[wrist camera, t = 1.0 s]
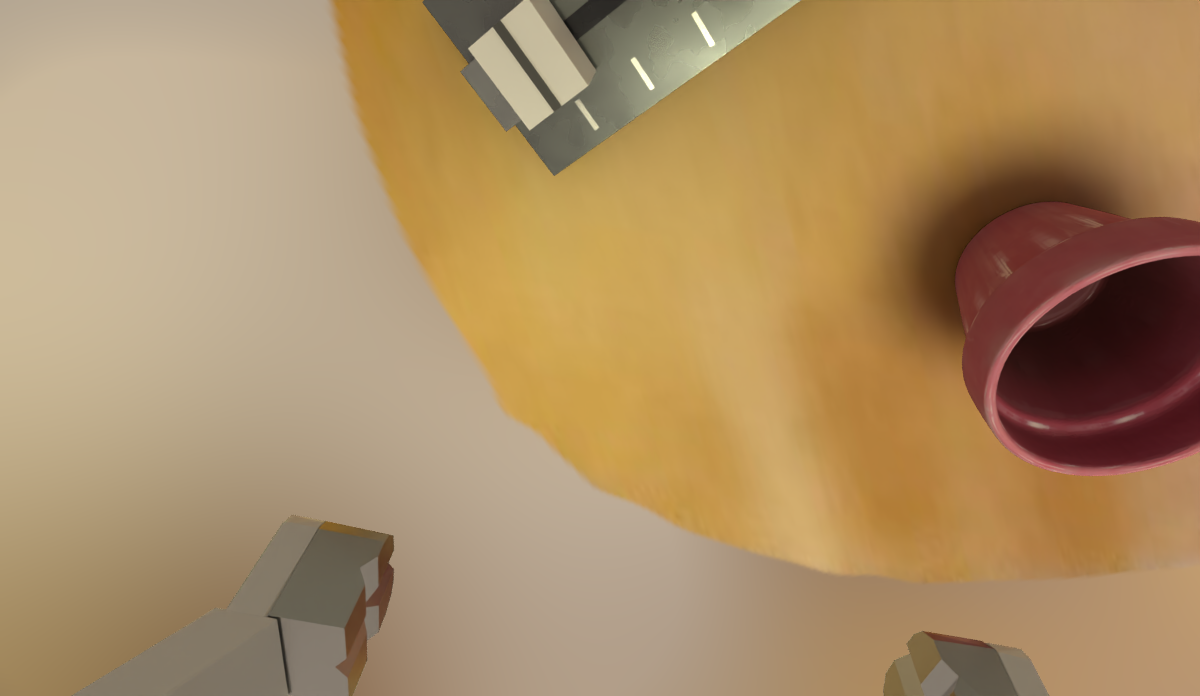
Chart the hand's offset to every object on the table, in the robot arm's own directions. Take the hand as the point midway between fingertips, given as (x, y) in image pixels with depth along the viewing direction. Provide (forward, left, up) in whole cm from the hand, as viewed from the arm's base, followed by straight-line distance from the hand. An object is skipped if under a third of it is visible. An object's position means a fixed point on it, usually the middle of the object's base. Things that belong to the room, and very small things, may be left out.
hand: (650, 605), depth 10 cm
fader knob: (+5, -6, -33) cm, 34 cm away
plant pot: (-13, +23, -36) cm, 44 cm away
